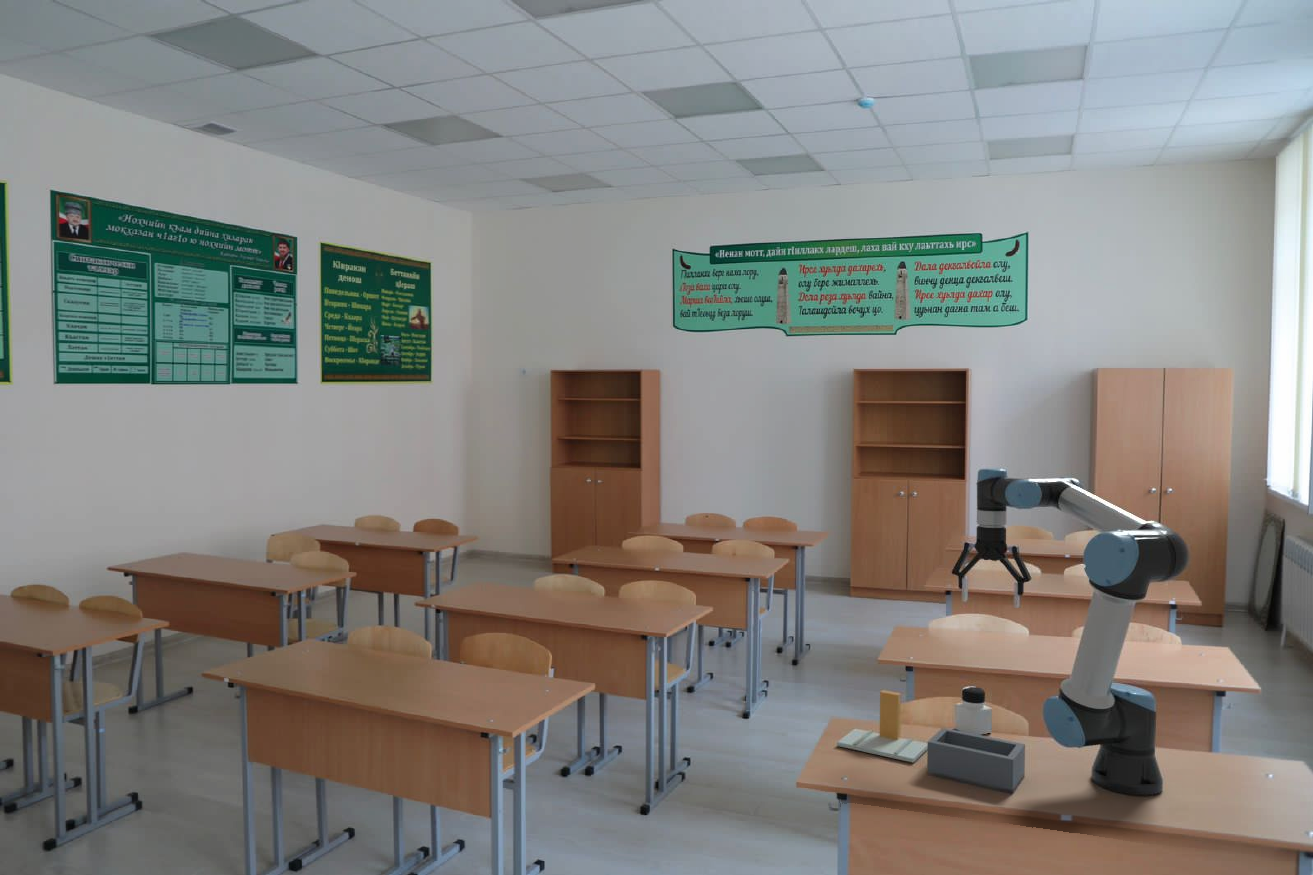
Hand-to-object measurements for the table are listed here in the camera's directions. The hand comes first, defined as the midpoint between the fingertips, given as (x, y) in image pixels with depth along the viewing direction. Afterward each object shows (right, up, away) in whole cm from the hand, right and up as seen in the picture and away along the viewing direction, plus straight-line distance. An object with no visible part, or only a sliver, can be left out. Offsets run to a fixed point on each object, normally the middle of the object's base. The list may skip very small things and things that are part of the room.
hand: (990, 604), depth 247 cm
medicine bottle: (-3, -37, +6) cm, 37 cm away
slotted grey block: (-31, -36, -7) cm, 48 cm away
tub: (-12, -37, -24) cm, 46 cm away
